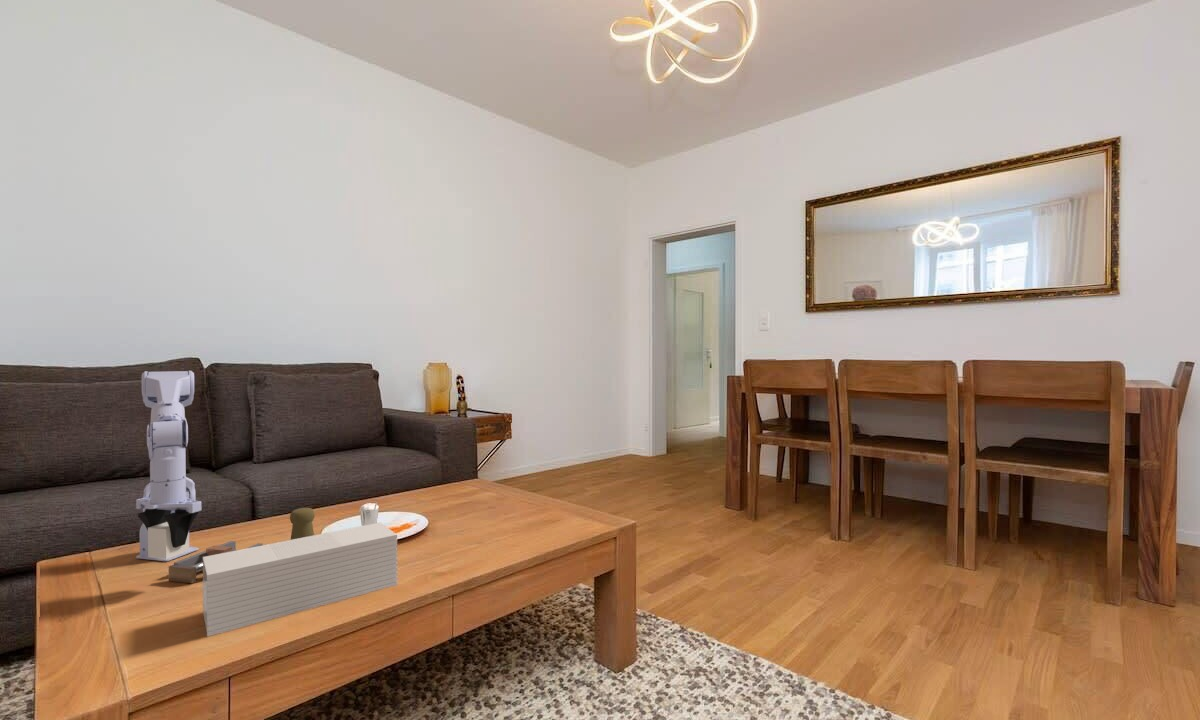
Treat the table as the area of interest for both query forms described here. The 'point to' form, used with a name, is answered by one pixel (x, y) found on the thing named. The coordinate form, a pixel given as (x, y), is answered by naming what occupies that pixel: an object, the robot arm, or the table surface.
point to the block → (163, 542)
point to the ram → (189, 573)
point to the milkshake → (369, 513)
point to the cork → (302, 523)
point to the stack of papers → (296, 575)
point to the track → (199, 557)
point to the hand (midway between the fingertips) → (169, 544)
